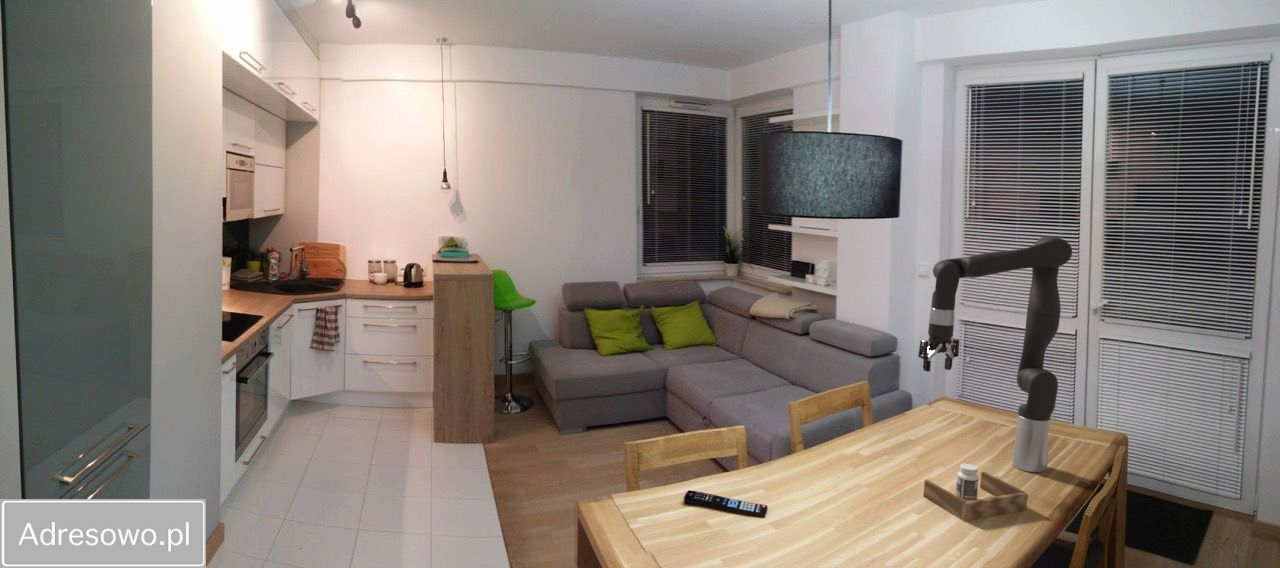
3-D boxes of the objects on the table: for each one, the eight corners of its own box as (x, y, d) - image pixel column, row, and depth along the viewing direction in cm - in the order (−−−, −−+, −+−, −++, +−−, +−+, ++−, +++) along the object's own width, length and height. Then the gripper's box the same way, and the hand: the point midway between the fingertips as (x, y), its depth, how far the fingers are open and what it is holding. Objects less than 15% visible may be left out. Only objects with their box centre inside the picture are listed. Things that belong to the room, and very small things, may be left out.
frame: (983, 487, 221) (984, 471, 220) (1026, 510, 206) (1028, 493, 205) (923, 496, 213) (924, 480, 213) (963, 521, 199) (965, 503, 198)
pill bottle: (979, 498, 213) (982, 466, 211) (973, 505, 209) (976, 472, 207) (958, 492, 217) (962, 461, 215) (952, 499, 212) (955, 466, 211)
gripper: (932, 325, 231) (927, 374, 233) (967, 323, 235) (962, 371, 238) (915, 320, 237) (911, 368, 240) (950, 318, 242) (946, 366, 245)
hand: (937, 370), depth 239 cm, fingers open, 8 cm apart
